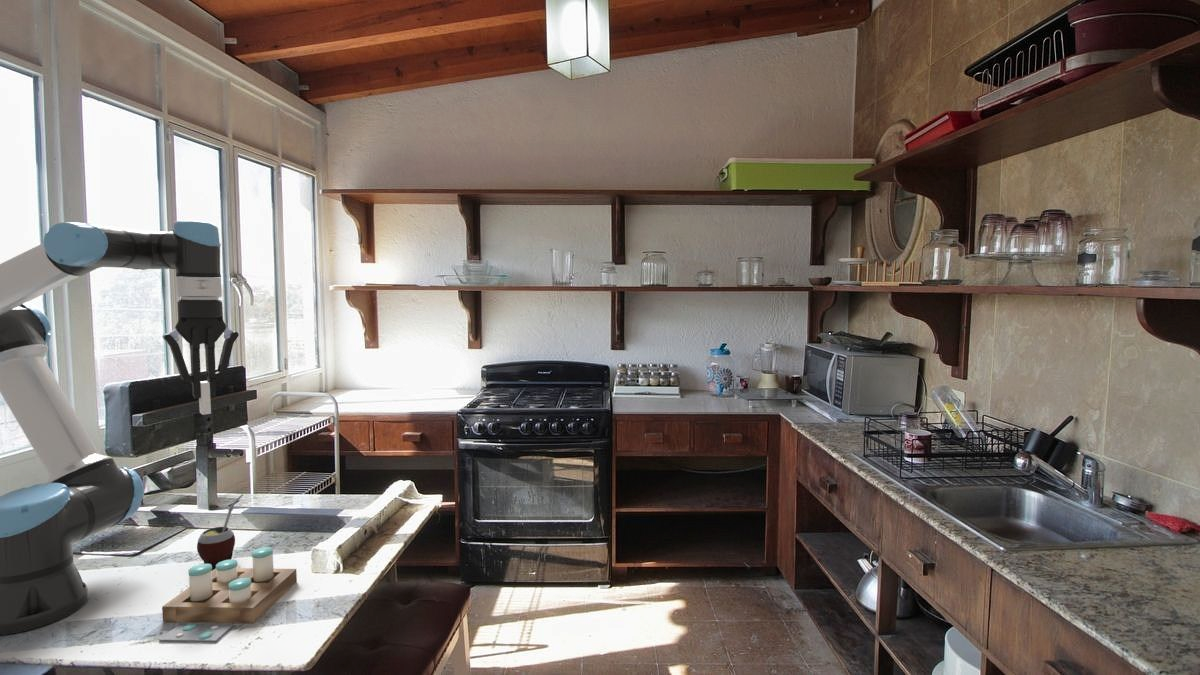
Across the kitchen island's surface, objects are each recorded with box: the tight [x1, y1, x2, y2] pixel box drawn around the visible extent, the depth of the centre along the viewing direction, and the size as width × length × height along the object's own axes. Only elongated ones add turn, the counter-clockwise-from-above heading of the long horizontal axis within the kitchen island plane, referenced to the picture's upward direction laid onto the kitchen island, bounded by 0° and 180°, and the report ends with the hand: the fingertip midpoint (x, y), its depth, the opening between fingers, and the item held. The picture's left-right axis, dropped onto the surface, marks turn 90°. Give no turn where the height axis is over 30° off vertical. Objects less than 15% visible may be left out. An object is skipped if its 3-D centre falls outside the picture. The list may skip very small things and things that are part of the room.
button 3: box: [228, 578, 251, 603], centre depth 110 cm, size 4×4×6 cm
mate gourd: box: [196, 493, 244, 571], centre depth 129 cm, size 8×8×15 cm
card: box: [158, 622, 235, 644], centre depth 103 cm, size 10×5×1 cm, turn 90°
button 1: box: [188, 563, 213, 601], centre depth 110 cm, size 4×4×6 cm
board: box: [161, 567, 298, 624], centre depth 114 cm, size 17×15×3 cm
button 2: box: [215, 558, 238, 583], centre depth 118 cm, size 4×4×6 cm
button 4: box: [251, 546, 274, 582], centre depth 118 cm, size 4×4×6 cm
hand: (205, 413), depth 118 cm, fingers closed
